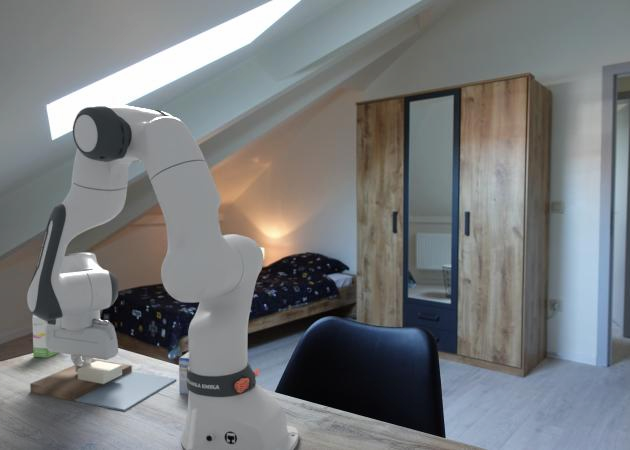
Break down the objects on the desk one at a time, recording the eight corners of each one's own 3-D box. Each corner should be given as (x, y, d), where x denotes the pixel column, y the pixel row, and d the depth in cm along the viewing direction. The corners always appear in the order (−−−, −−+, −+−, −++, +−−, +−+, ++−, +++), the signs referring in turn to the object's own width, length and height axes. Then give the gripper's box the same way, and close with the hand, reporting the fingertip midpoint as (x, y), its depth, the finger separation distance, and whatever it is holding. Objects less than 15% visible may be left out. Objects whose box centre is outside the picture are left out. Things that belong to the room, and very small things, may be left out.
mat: (176, 380, 120) (176, 378, 120) (124, 411, 103) (124, 409, 103) (131, 372, 125) (131, 371, 125) (75, 401, 108) (75, 399, 108)
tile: (122, 374, 118) (121, 365, 118) (103, 383, 113) (103, 373, 113) (97, 370, 121) (96, 360, 121) (77, 379, 116) (77, 369, 115)
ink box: (47, 358, 135) (45, 307, 134) (32, 357, 136) (30, 306, 135) (69, 348, 144) (67, 300, 143) (55, 347, 145) (53, 299, 144)
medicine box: (194, 380, 120) (193, 347, 119) (210, 382, 119) (210, 348, 118) (178, 393, 112) (178, 357, 112) (196, 395, 111) (195, 359, 111)
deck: (131, 372, 125) (131, 365, 125) (75, 401, 108) (75, 392, 108) (90, 365, 130) (90, 358, 130) (30, 391, 113) (30, 383, 113)
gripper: (123, 318, 117) (124, 372, 118) (60, 310, 124) (62, 362, 125) (103, 324, 111) (105, 382, 112) (39, 316, 118) (41, 371, 119)
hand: (82, 371), depth 119 cm, fingers closed
